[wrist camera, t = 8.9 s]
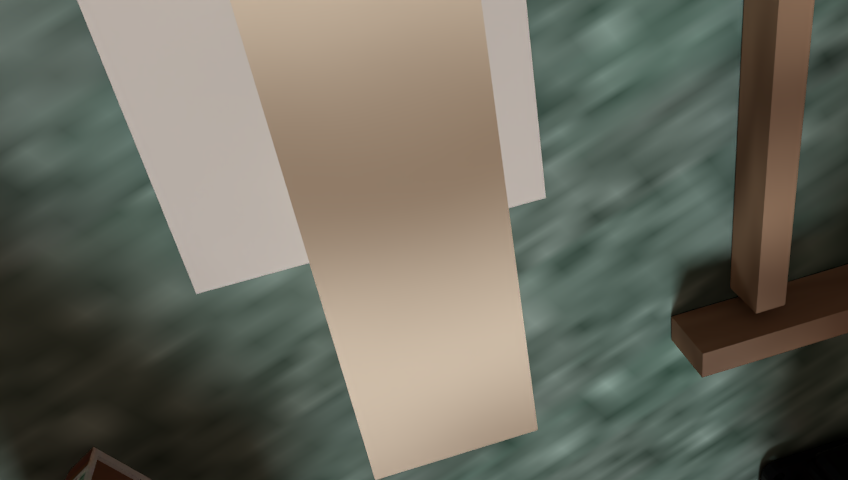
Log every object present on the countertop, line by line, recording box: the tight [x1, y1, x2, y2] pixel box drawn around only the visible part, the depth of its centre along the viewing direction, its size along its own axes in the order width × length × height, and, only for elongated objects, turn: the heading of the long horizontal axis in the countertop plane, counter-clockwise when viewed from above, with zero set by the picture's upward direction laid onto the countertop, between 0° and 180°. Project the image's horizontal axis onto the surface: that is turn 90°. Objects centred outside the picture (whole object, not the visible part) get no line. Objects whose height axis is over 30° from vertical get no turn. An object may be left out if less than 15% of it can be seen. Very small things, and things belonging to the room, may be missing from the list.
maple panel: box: [230, 0, 538, 480], centre depth 15 cm, size 10×3×9 cm, turn 10°
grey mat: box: [77, 0, 546, 294], centre depth 19 cm, size 12×10×1 cm
